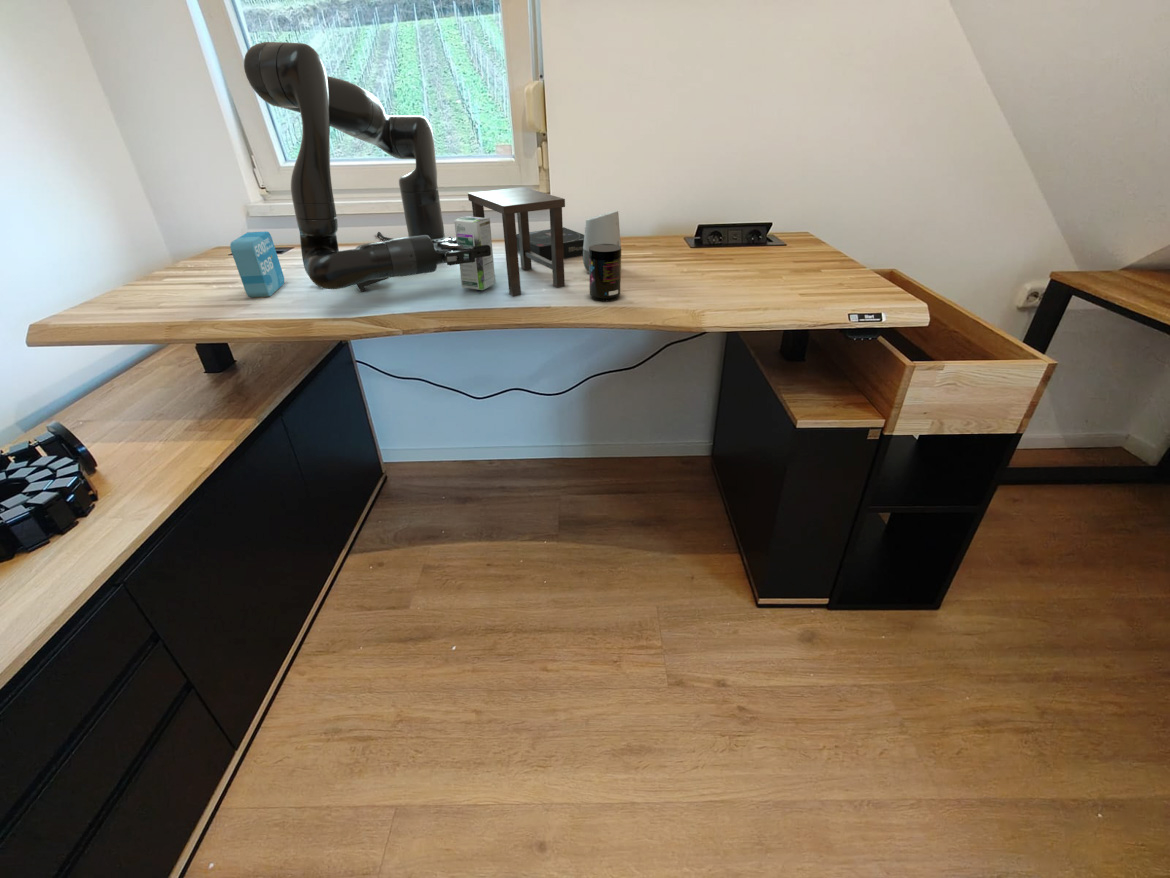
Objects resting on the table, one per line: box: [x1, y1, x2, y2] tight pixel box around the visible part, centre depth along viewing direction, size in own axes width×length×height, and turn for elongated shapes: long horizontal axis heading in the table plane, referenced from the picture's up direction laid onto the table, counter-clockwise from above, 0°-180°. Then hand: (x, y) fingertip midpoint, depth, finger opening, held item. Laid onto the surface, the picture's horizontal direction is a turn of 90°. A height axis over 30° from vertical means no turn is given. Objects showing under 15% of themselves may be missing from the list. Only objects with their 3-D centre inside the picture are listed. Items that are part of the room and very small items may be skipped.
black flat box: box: [516, 226, 584, 261], centre depth 152 cm, size 16×17×4 cm
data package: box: [229, 231, 285, 298], centre depth 124 cm, size 12×4×12 cm, turn 8°
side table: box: [467, 186, 566, 297], centre depth 126 cm, size 20×14×19 cm
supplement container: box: [588, 244, 622, 302], centre depth 117 cm, size 7×7×10 cm
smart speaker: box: [582, 210, 622, 273], centre depth 133 cm, size 10×9×14 cm
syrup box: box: [453, 215, 496, 291], centre depth 122 cm, size 6×6×14 cm
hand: (482, 246), depth 122 cm, fingers open, 8 cm apart
